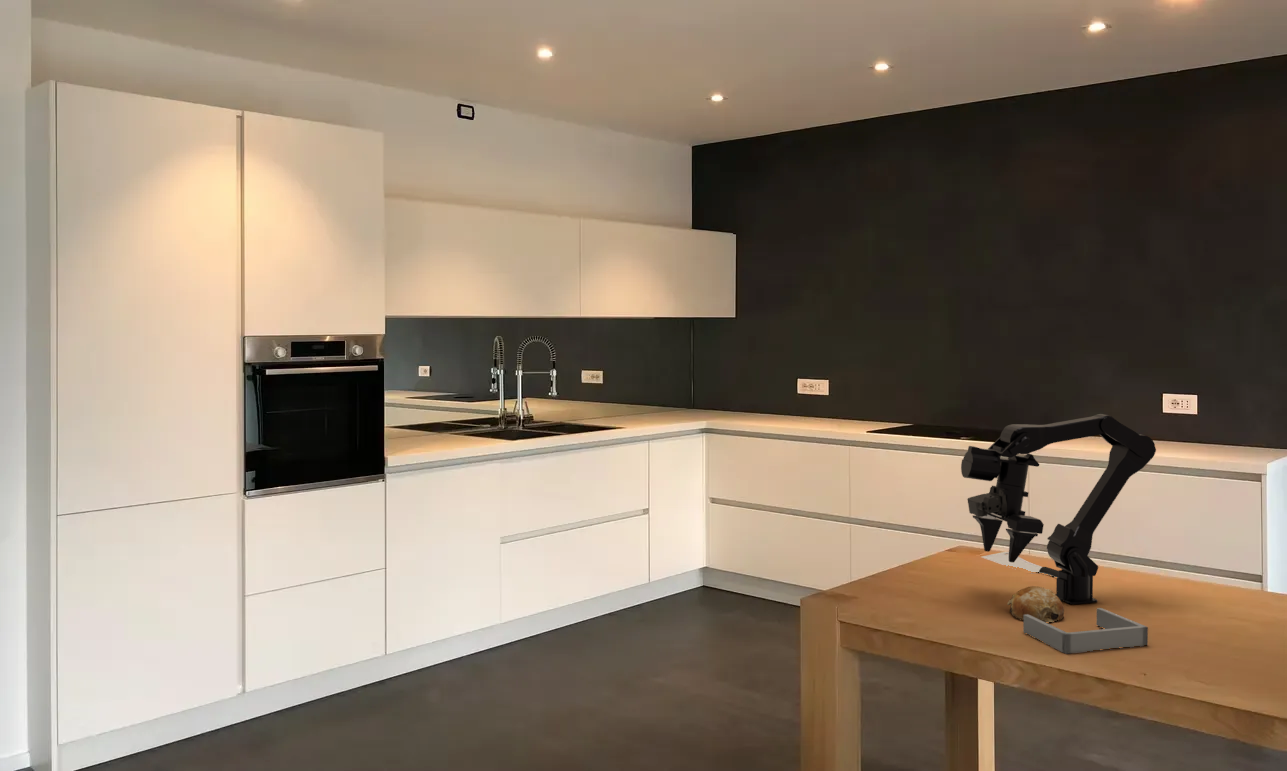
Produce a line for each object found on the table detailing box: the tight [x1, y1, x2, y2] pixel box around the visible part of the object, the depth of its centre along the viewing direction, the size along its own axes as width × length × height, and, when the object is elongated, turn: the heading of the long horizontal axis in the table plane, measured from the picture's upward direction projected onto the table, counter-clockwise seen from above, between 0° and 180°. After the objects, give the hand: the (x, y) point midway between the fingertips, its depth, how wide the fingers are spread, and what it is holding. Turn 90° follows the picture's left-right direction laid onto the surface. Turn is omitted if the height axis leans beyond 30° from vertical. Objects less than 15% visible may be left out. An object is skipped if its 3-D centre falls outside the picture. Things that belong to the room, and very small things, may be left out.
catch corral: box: [1022, 607, 1149, 655], centre depth 192 cm, size 17×13×4 cm
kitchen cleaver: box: [981, 551, 1059, 578], centre depth 244 cm, size 31×2×10 cm
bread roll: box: [1007, 585, 1065, 623], centre depth 206 cm, size 10×10×8 cm
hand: (998, 556), depth 216 cm, fingers open, 9 cm apart
